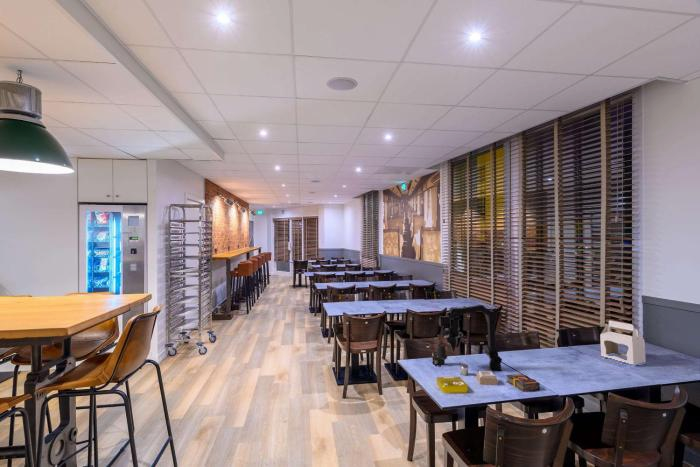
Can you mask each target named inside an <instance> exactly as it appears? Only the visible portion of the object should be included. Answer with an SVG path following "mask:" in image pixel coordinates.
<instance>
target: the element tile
mask: <svg viewBox="0 0 700 467" xmlns="http://www.w3.org/2000/svg"><path fill="white" fill-rule="evenodd" d="M435 380H436V386H437V387H438V389H439V390H440V392H441V393H443V394H468V393H469V385H468V384H467V383H466V382H465V381H464V380H463V378H462V377H460V376H437V377H436V379H435Z"/></svg>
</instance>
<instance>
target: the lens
mask: <svg viewBox="0 0 700 467" xmlns="http://www.w3.org/2000/svg"><path fill="white" fill-rule="evenodd" d="M459 366H460V375H461V376H464V377H466V376H467V377H468V376H469V365H468V364H466V363H462V364H460V365H459Z"/></svg>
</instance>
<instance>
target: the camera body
mask: <svg viewBox="0 0 700 467" xmlns="http://www.w3.org/2000/svg"><path fill="white" fill-rule="evenodd" d="M476 381H477V382H478V383H479V385H481V386H483V385H485V386H498V377H497V376H496V375H495V374H494V372H493V371H492V370H490V371H489V370H479V371H478V372H476Z"/></svg>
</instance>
